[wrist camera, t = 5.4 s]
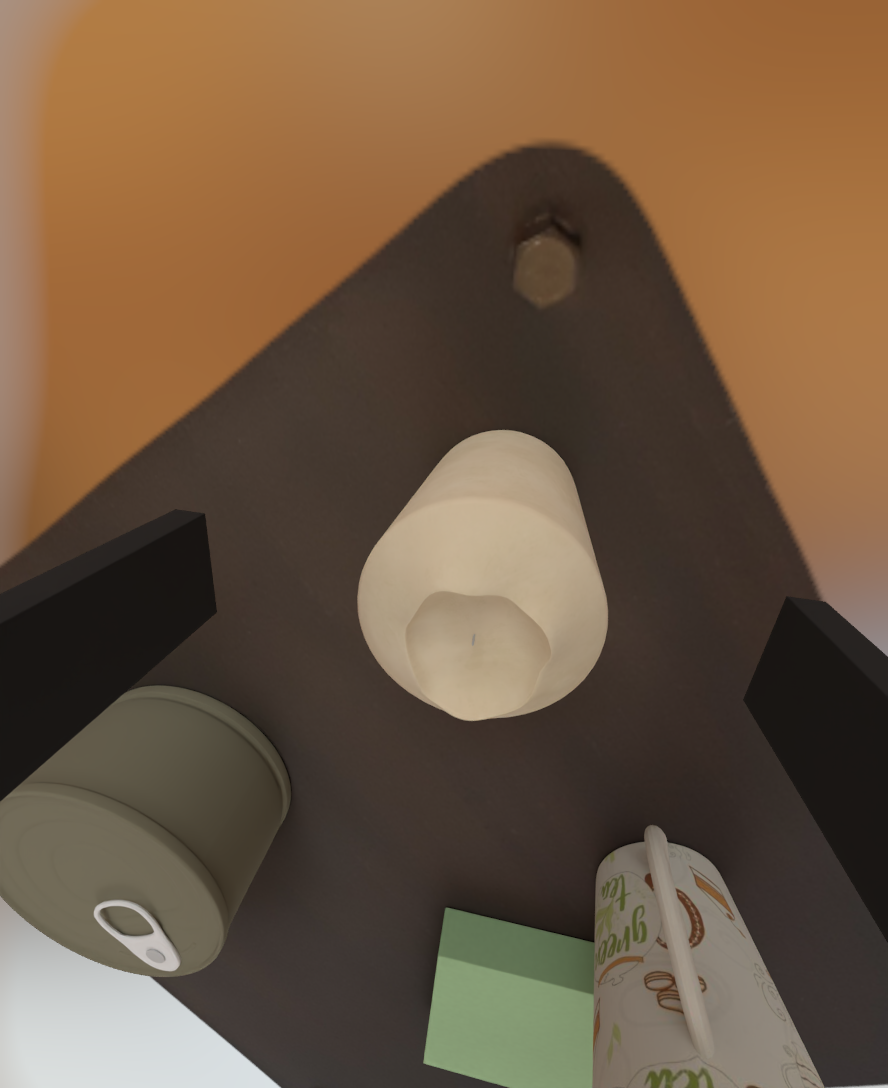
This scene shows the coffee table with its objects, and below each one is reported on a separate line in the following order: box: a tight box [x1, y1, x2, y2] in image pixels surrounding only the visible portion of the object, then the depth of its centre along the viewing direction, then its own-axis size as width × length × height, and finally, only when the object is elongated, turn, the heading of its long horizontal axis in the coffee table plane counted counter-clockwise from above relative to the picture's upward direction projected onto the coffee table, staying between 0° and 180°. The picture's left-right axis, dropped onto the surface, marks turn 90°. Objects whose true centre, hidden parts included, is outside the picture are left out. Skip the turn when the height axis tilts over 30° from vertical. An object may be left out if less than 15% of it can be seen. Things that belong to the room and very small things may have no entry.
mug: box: [592, 825, 825, 1088], centre depth 20 cm, size 8×13×10 cm, turn 19°
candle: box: [357, 430, 608, 721], centre depth 14 cm, size 6×6×10 cm
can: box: [0, 685, 291, 977], centre depth 24 cm, size 12×12×7 cm
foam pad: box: [424, 907, 595, 1088], centre depth 29 cm, size 12×12×2 cm
